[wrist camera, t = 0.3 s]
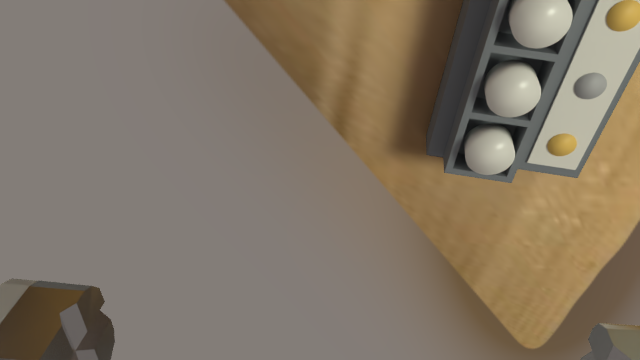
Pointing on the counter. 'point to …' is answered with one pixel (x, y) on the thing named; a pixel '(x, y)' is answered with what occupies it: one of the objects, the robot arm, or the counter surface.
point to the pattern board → (554, 78)
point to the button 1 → (489, 149)
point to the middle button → (512, 88)
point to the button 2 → (539, 21)
